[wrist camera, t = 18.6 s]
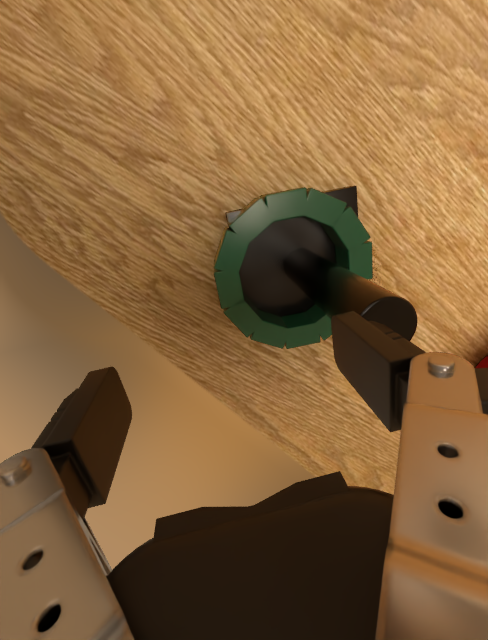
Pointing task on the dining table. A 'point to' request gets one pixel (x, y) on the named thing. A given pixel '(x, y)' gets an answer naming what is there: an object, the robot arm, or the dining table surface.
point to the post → (315, 275)
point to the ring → (252, 222)
